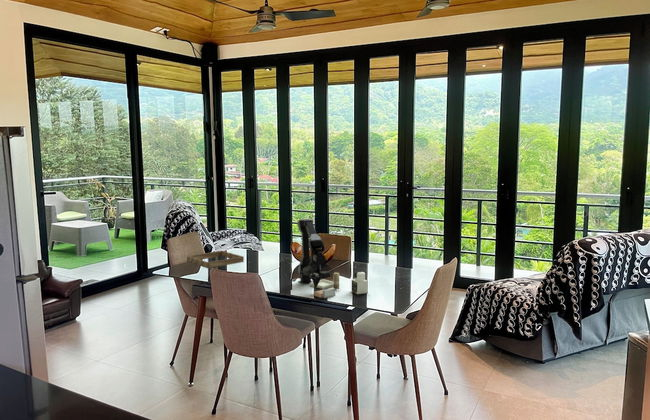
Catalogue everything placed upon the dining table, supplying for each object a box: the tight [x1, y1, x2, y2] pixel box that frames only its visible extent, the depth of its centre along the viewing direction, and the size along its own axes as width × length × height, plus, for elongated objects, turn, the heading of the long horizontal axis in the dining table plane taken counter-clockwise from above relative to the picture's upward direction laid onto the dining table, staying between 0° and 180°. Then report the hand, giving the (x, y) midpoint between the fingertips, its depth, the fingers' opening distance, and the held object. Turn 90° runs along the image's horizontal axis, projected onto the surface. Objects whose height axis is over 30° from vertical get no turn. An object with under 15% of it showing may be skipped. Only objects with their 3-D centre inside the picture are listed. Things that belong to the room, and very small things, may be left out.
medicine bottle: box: [351, 270, 369, 295], centre depth 287 cm, size 7×7×12 cm
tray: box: [309, 278, 334, 290], centre depth 301 cm, size 12×12×2 cm
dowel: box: [333, 272, 340, 290], centre depth 296 cm, size 3×3×9 cm
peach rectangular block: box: [313, 289, 324, 298], centre depth 282 cm, size 6×7×2 cm
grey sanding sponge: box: [322, 287, 336, 299], centre depth 279 cm, size 2×8×4 cm, turn 134°
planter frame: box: [186, 250, 245, 269], centre depth 364 cm, size 29×29×4 cm
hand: (315, 287), depth 287 cm, fingers closed
